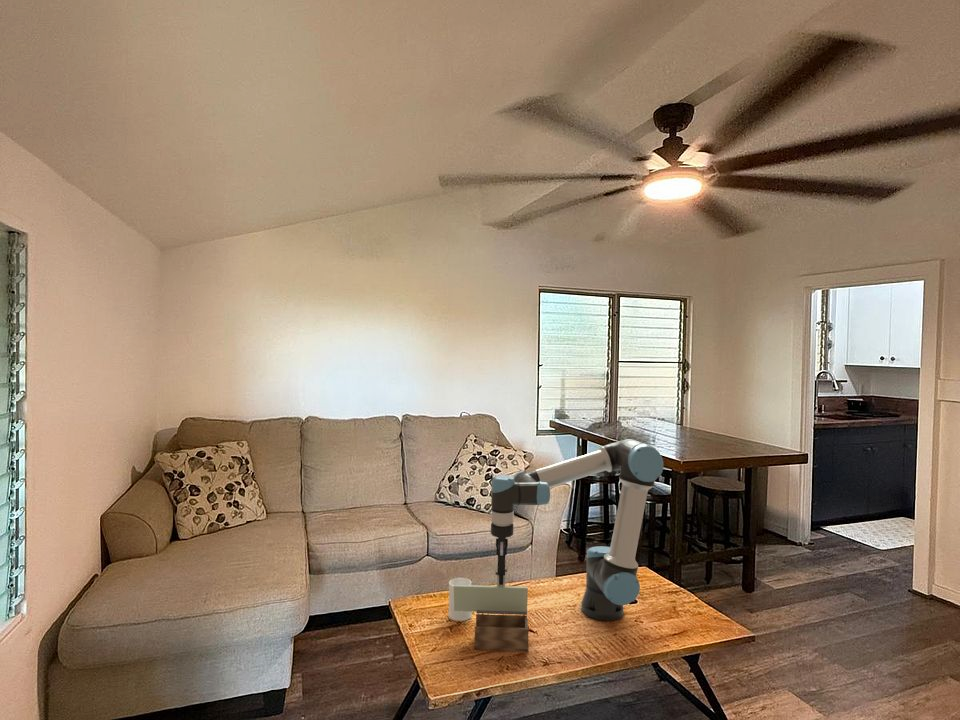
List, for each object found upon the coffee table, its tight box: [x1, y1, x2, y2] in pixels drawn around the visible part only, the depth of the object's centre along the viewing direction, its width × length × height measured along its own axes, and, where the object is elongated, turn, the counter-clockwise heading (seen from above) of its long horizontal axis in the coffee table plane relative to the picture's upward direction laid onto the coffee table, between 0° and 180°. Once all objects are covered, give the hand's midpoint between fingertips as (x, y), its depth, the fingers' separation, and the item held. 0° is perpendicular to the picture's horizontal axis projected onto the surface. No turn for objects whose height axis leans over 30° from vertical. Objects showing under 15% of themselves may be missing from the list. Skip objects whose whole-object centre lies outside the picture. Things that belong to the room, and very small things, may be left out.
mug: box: [447, 577, 473, 622], centre depth 189 cm, size 12×8×12 cm
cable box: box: [474, 613, 529, 652], centre depth 172 cm, size 17×9×7 cm, turn 88°
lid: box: [454, 584, 529, 616], centre depth 177 cm, size 24×10×2 cm
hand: (500, 592), depth 177 cm, fingers closed
